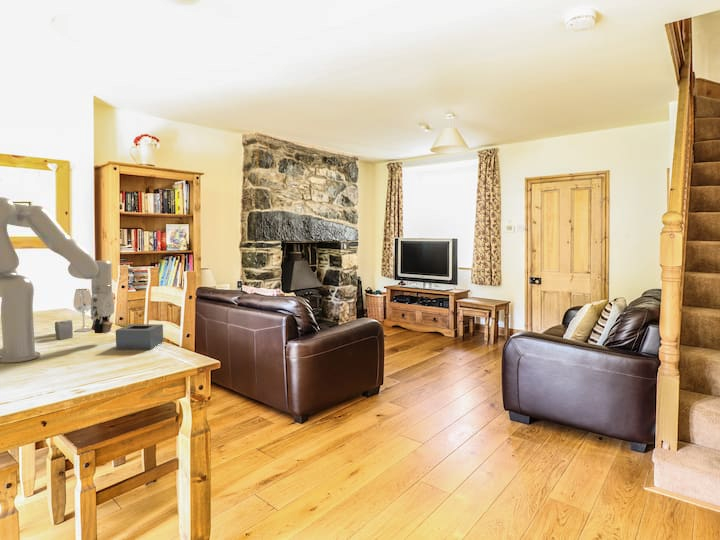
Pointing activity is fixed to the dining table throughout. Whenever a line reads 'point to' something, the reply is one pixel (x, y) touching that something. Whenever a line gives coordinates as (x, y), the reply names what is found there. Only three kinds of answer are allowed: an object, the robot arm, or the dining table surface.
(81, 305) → the wineglass
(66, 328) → the grey block
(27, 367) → the dining table surface
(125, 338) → the box
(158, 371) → the dining table surface
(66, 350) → the dining table surface
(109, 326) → the brown block
